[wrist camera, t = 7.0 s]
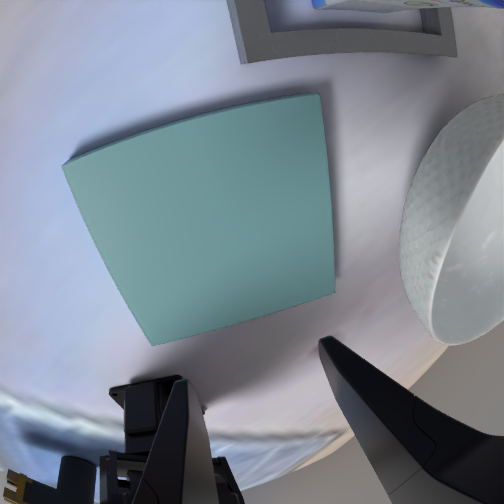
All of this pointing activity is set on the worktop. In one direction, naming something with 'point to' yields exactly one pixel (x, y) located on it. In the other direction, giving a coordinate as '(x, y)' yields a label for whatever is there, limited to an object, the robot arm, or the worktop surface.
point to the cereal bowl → (458, 227)
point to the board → (213, 215)
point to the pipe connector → (68, 487)
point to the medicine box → (401, 4)
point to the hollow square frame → (335, 36)
